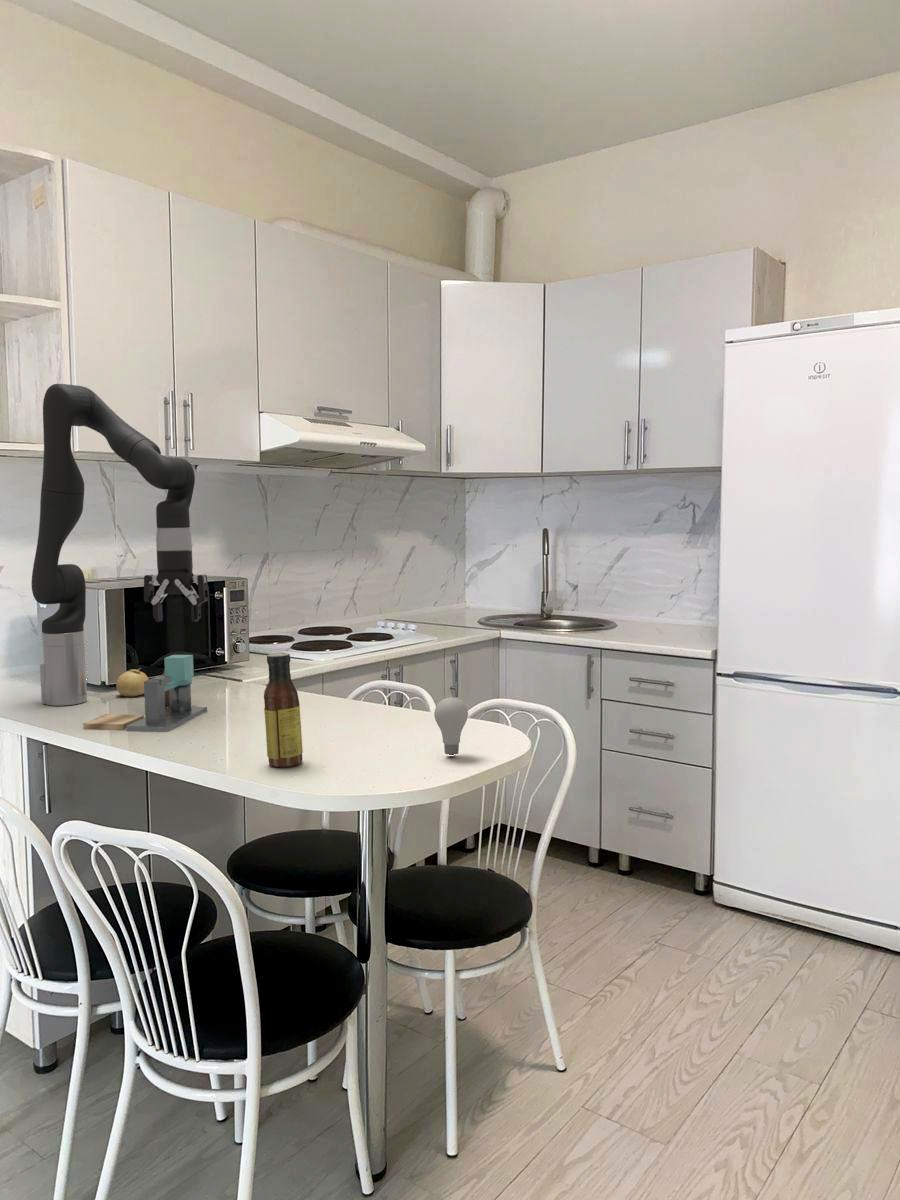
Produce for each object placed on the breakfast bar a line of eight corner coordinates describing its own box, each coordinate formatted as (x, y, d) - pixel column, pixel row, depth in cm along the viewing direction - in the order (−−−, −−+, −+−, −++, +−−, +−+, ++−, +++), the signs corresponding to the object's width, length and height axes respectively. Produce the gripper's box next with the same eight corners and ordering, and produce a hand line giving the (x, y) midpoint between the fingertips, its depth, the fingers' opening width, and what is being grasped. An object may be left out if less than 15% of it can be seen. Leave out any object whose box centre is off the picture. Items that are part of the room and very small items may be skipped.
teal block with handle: (148, 692, 196) (146, 663, 195) (174, 681, 208) (173, 654, 207) (170, 692, 195) (169, 663, 194) (195, 681, 207) (194, 654, 206)
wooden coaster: (83, 728, 192) (83, 723, 192) (105, 719, 201) (105, 714, 201) (123, 730, 191) (123, 724, 191) (144, 720, 200) (143, 715, 200)
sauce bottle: (307, 760, 166) (304, 651, 164) (296, 769, 160) (293, 656, 158) (273, 758, 167) (269, 651, 165) (260, 768, 161) (257, 656, 159)
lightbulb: (465, 762, 163) (464, 701, 162) (431, 760, 164) (431, 700, 163) (470, 753, 169) (470, 694, 168) (438, 752, 170) (437, 693, 169)
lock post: (126, 730, 190) (124, 683, 189) (170, 710, 210) (168, 667, 209) (167, 731, 189) (165, 684, 188) (207, 711, 209) (205, 667, 208)
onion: (111, 699, 224) (110, 670, 224) (122, 692, 232) (121, 665, 232) (144, 698, 225) (143, 670, 224) (154, 692, 233) (153, 664, 232)
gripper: (135, 549, 199) (139, 623, 201) (197, 548, 197) (200, 623, 199) (152, 548, 207) (155, 619, 208) (211, 547, 205) (214, 619, 206)
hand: (177, 621), depth 203 cm, fingers open, 8 cm apart
